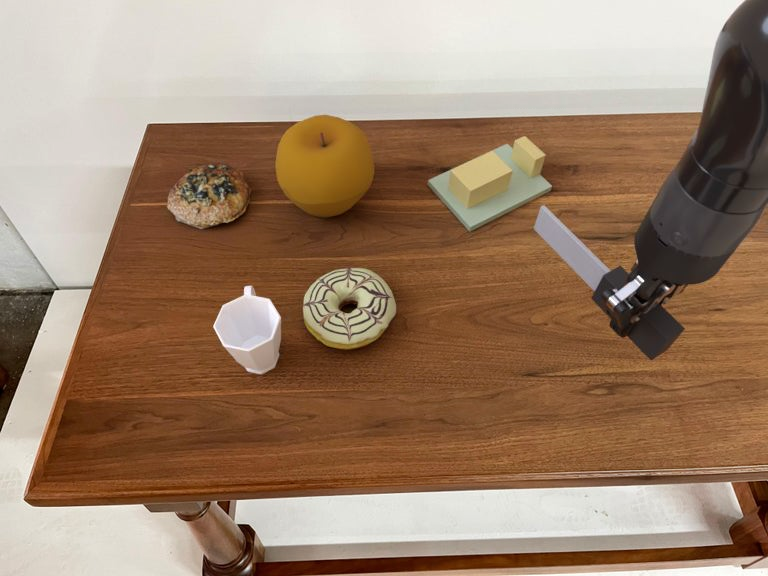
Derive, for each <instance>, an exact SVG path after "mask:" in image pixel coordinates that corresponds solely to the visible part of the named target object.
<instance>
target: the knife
mask: <svg viewBox="0 0 768 576" xmlns="http://www.w3.org/2000/svg"><path fill="white" fill-rule="evenodd" d="M533 230H534V231H535V232H536V233H537V234H538V235H539V236H540V237H541V238H542V240H543V241H545V242H546V243H547V244H548V245H549V246H550V247H551V249H552V250H553V251H555V253H556V254H557V255H558V256H559V257H560V258H561V259H562V260H563V261H564V262H565V263H566V264H567V265H568V266H569V267H570V268H571V269H572V270H573V271H574V272H575V273H576V274H577V276H578V277H580V278H581V279H582V281H584V282H585V284H587V286H588V287H590V288H591V290H592V291H593V294H592V295H591V297H590V299H591V300H592V301H593V303H595V304H596V305H597V306H598V307H599V308H600V310H601V311H602V312H603V313H604V314H605V315H606V316H607V317H608V318H609V319H610V320H611V319H612V317H611V316H610V315H609V314H607V313H606V312H605V311H604V308H603V304H602V300H601V295H602V293H603V292H604V291H605V290H607V289H609V288H611V289H612V290H613V289H617V290H618V291H619V290H620V289H621V287H622V286H623V284H624V283H625V282H626V280H627V277H628V275H629V274H630V273H628V271H627V270H625V269H624V268H623V266H621V265H619V266H617V267H615V268H613V269H611V270H610V268H608V267H607V265H606V264H605V263H603V262H602V261H601V260H600V259H599V257H598V256H596V255H595V254H594V252H592V251H591V250H590V249H589V248H588V247H587V245H585V244H584V242H582V241H581V240H580V239H579V238H578V237H577V236H576V235H575V234H574V233H573V232H572V231H571V230H570V229H569V228H568V227H567V226H566V225H565V224H564V223H563V222H562V221H561V219H559V218H558V217H557V216H556V215H555V214H554V213H553V212H552V211H551V210H550V209H549V208H548V207H546V205H545V204H543V205H541V206H540V208H539V212H538V214H537V217H536V220H535V222H534V226H533ZM629 302H630V303H631V304H632V305H633V306H634V307H635V308H636V309H637V307H636V306H635V305H634V304H633V303H632V302H631V301H629ZM685 330H686V328H685V327H684V326H683V325H682V324H681V323H680V322H679V321H678V320H677V319H676V318H675V317H674V316H673V315H672V314H670V312H668V310H667V309H666V308H665V307H664V306H661V305H660V304H658V305H657V306H656V308H654V309H653V310H651V311H649V312H647V313H645V314H643V316H642V317H641V318H640V320H639V321H638V322H637V324H636V325H635V327H634V328H633V330H632V331H631V333H630V334H629V335H628V336H627V338H628V339H629V340H630V341H632V343H633V344H634V345H635V346H636V347H637V348H638V349H639V351H641V352H642V353H643V355H645V356H646V357H647V359H648V360H649V361H653V360H655V359H656V358H658V357H659V356H661V355H663V354H664V353H665V352H666V351H668V350H669V349H670V348H671V346H672V345H673V344H674V343H675V342H676V340H677V339H678V338H679V337H680V336H681V334H683V332H684V331H685Z"/></svg>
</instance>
